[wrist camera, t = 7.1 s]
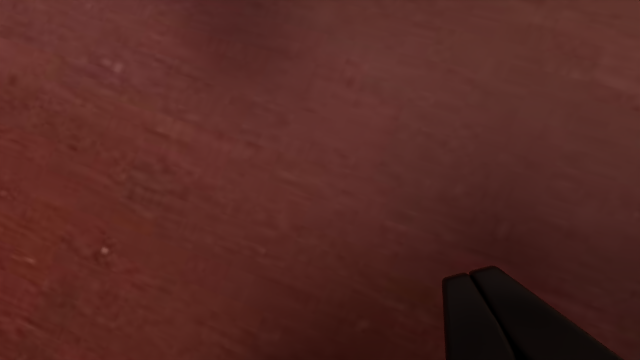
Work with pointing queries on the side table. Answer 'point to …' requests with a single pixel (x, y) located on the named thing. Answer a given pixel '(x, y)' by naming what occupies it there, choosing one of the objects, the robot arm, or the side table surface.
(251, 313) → the side table surface
